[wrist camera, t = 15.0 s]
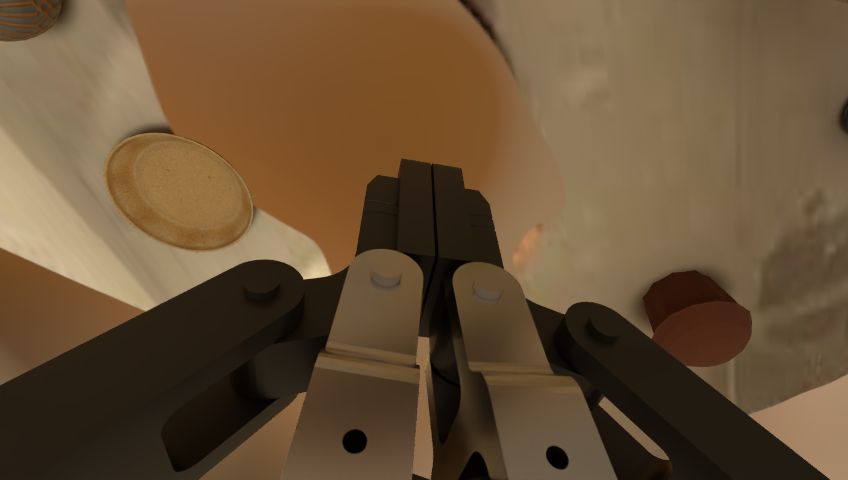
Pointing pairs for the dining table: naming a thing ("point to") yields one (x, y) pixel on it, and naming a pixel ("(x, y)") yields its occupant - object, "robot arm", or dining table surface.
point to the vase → (27, 18)
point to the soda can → (846, 118)
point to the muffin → (696, 319)
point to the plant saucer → (178, 192)
